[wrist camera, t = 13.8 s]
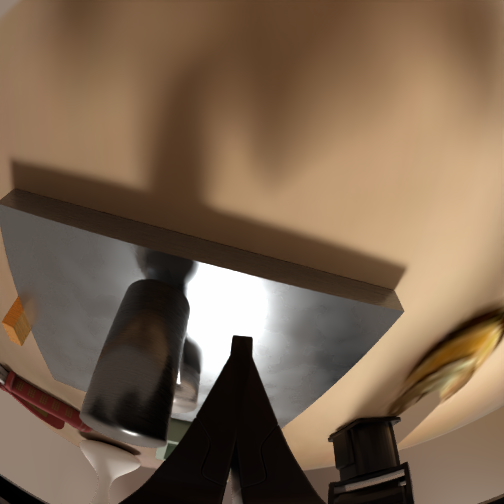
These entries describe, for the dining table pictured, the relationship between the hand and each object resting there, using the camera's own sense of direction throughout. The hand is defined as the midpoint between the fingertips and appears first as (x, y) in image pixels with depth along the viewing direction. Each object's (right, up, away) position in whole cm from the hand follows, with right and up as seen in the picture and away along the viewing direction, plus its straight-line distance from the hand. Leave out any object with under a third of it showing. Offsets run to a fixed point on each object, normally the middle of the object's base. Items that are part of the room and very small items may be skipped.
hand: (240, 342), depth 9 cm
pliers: (-28, -14, +16) cm, 35 cm away
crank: (-4, -1, +4) cm, 6 cm away
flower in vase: (-24, -30, +27) cm, 47 cm away
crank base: (-4, -3, +7) cm, 9 cm away
